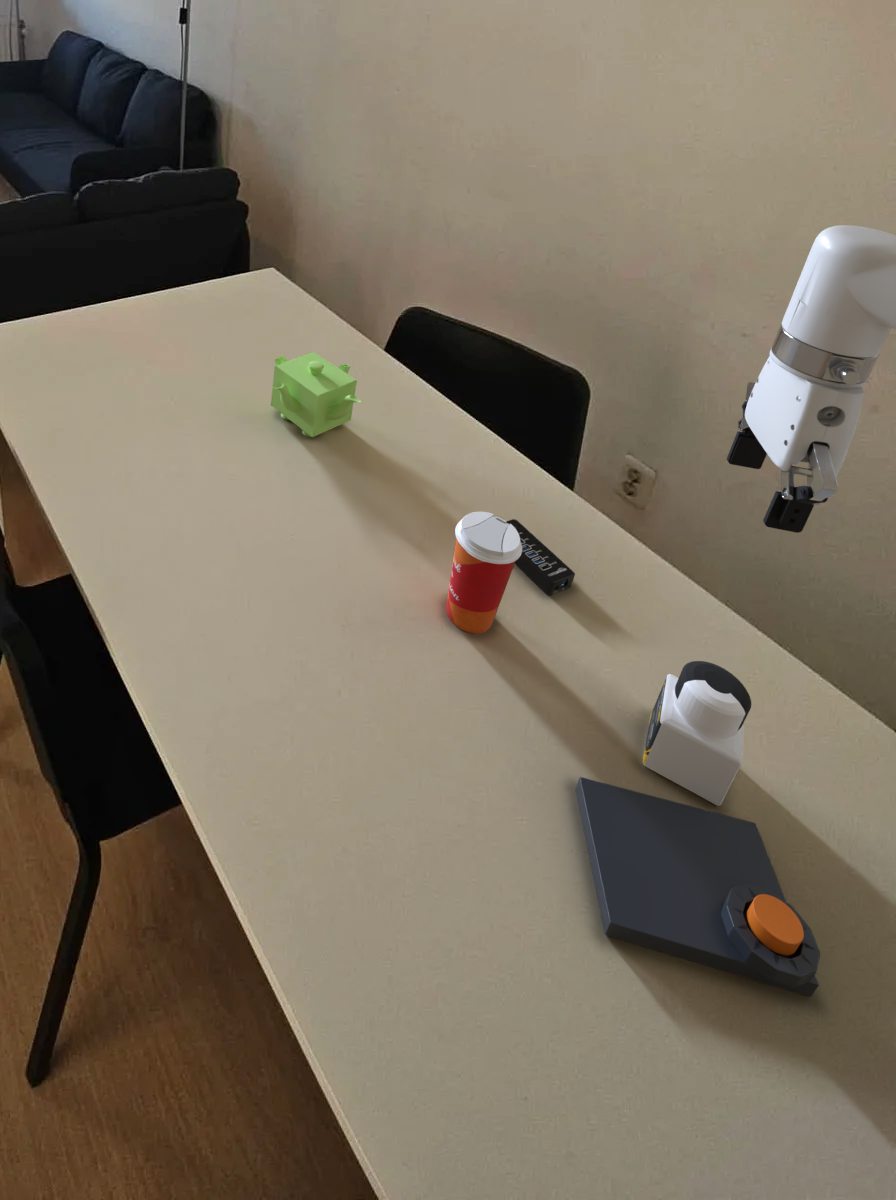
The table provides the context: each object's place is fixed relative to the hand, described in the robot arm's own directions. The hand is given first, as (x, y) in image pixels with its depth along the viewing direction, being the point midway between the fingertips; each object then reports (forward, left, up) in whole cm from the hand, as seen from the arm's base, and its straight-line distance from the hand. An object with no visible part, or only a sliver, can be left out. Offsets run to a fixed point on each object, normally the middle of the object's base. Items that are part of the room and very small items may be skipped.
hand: (761, 494), depth 81 cm
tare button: (+2, +27, -25) cm, 37 cm away
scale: (+7, +23, -28) cm, 37 cm away
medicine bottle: (+3, +10, -28) cm, 30 cm away
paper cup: (+24, -3, -28) cm, 37 cm away
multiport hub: (+15, -15, -28) cm, 35 cm away
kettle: (+48, -38, -28) cm, 67 cm away
